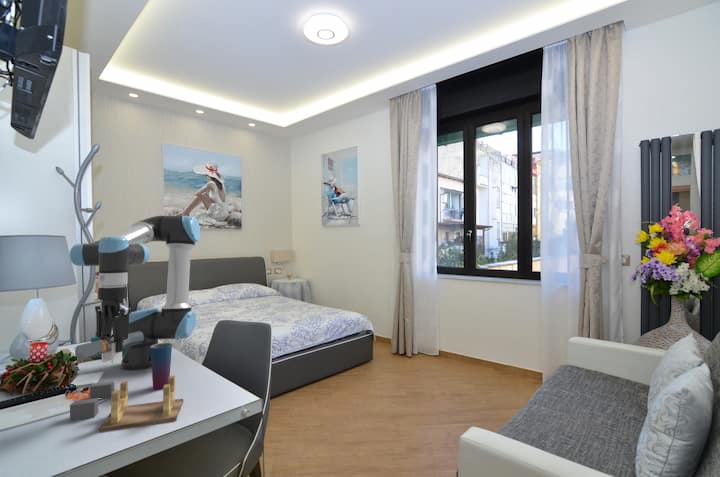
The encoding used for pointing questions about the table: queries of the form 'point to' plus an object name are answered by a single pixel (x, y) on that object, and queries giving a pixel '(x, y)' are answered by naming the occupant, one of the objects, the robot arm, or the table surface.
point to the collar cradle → (142, 409)
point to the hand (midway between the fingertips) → (111, 361)
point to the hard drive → (87, 379)
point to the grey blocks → (91, 401)
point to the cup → (160, 364)
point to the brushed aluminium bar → (106, 345)
